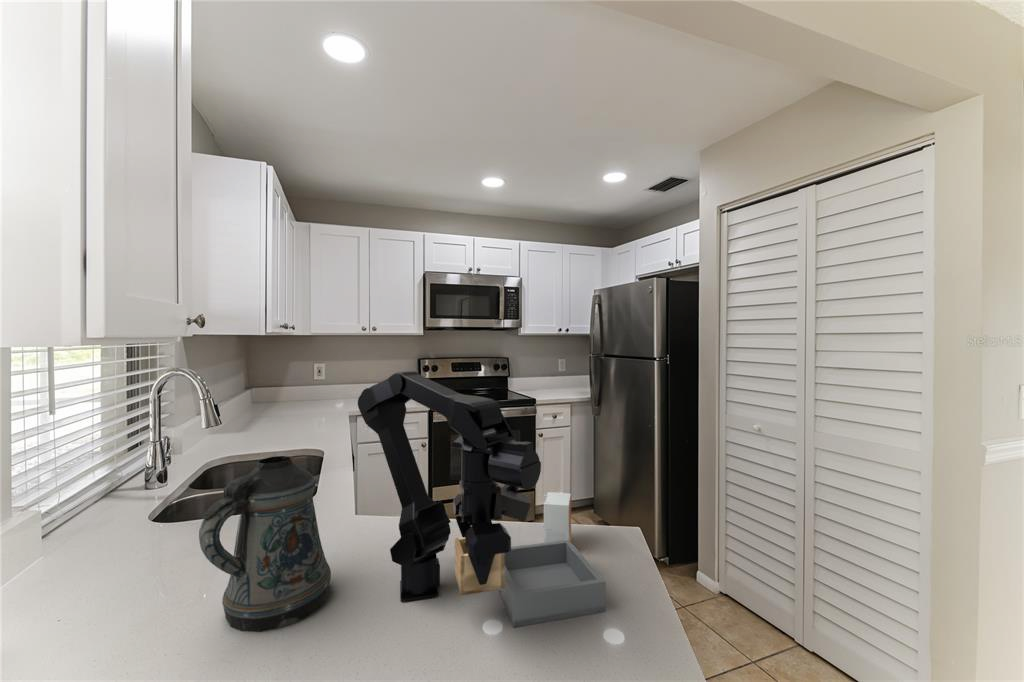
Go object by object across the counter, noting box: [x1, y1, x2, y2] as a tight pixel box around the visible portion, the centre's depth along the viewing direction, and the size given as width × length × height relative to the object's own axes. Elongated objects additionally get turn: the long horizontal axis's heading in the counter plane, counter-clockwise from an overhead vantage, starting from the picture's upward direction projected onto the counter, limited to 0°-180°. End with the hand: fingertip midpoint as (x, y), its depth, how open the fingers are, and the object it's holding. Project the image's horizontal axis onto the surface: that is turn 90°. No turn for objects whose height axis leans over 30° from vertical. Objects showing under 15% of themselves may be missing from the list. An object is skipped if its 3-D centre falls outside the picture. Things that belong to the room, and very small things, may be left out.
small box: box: [543, 491, 572, 543], centre depth 96 cm, size 8×6×10 cm
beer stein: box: [198, 455, 332, 633], centre depth 74 cm, size 16×19×25 cm
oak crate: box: [454, 537, 505, 596], centre depth 70 cm, size 7×6×6 cm
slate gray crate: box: [497, 540, 606, 628], centre depth 78 cm, size 16×16×5 cm
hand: (478, 573), depth 70 cm, fingers closed on oak crate, 6 cm apart
